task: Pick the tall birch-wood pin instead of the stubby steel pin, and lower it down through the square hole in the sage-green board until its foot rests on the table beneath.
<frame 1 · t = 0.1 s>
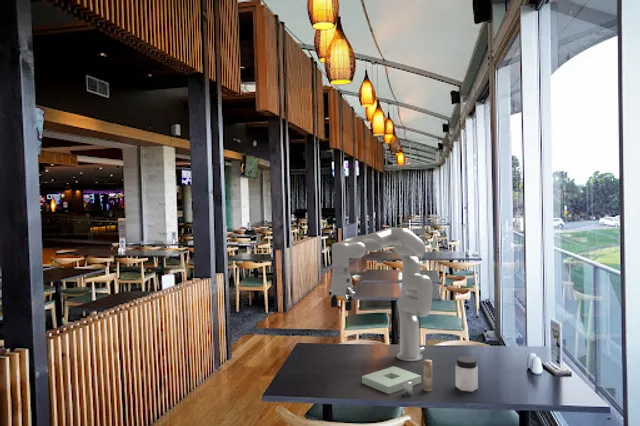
hand: (341, 308, 214), 31 cm above the table, tool pointing down, fingers open, 9 cm apart
birch pin: (428, 389, 201), on the table
steel pin: (408, 394, 196), on the table
hole board: (391, 382, 209), on the table
jar: (466, 388, 202), on the table
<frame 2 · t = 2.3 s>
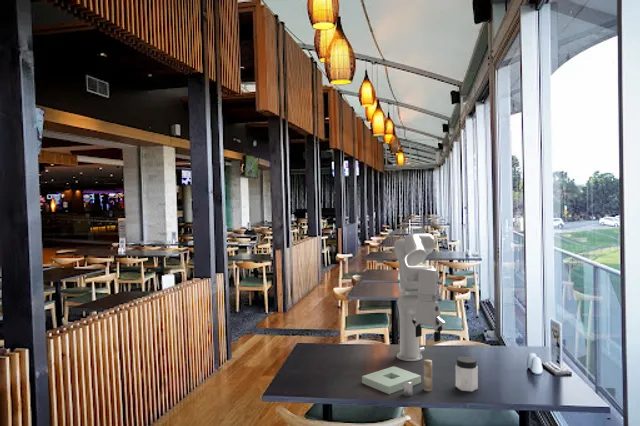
hand: (427, 338, 200), 21 cm above the table, tool pointing down, fingers open, 9 cm apart
nothing on the table moved.
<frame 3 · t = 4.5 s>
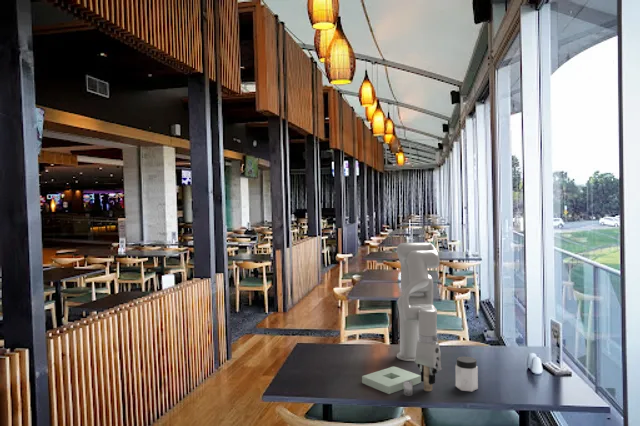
hand: (428, 381, 201), 3 cm above the table, tool pointing down, fingers closed on birch pin, 3 cm apart
birch pin: (428, 389, 201), on the table, touching gripper
everything else where it was.
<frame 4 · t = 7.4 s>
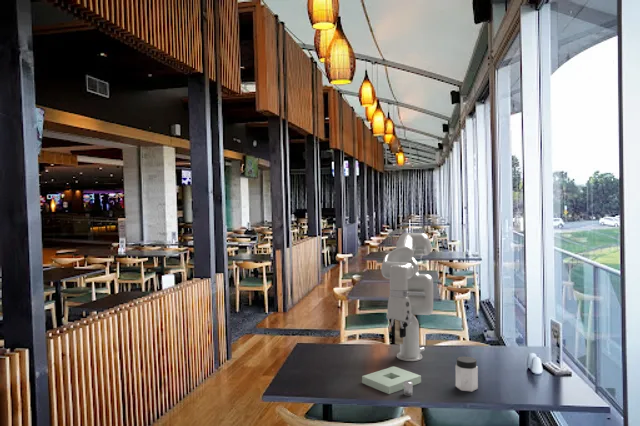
hand: (399, 335, 207), 21 cm above the table, tool pointing down, fingers closed on birch pin, 3 cm apart
birch pin: (399, 343, 207), point 18 cm above the table, touching gripper
everything else where it was.
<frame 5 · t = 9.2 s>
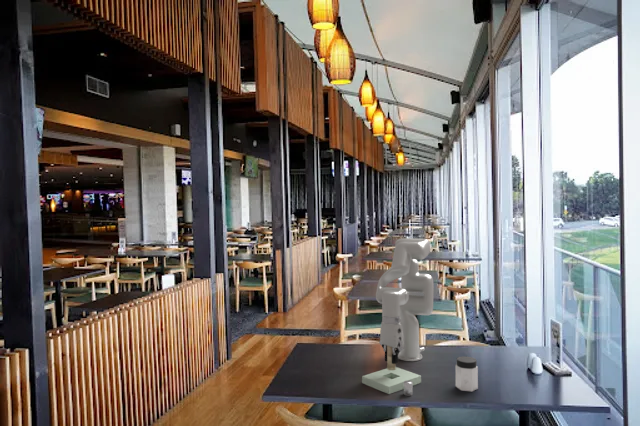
hand: (391, 361, 209), 9 cm above the table, tool pointing down, fingers closed on birch pin, 3 cm apart
birch pin: (391, 368, 209), point 6 cm above the table, touching gripper
everything else where it was.
when the fingers open (5 cm above the table, at t = 10.5 s): birch pin drops 1 cm, resting in hole board.
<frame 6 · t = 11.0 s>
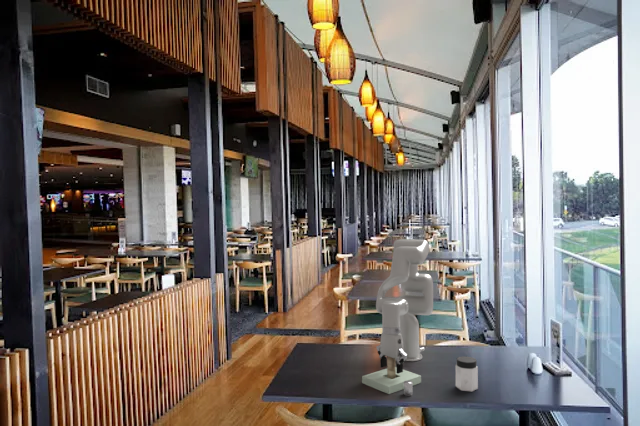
hand: (391, 369, 209), 6 cm above the table, tool pointing down, fingers open, 9 cm apart
birch pin: (391, 382, 209), resting in hole board
everything else where it was.
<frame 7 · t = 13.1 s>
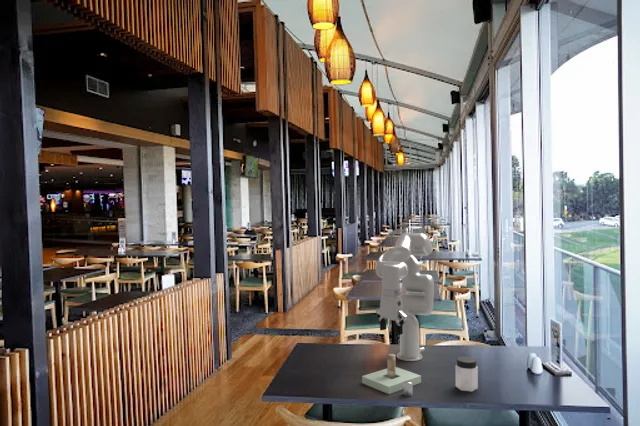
hand: (391, 332, 209), 22 cm above the table, tool pointing down, fingers open, 9 cm apart
nothing on the table moved.
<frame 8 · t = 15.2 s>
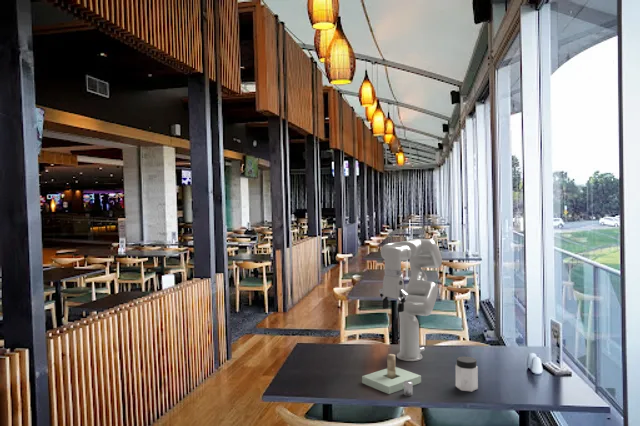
hand: (393, 309, 224), 28 cm above the table, tool pointing down, fingers open, 9 cm apart
nothing on the table moved.
at the end: birch pin 0.0 cm off-centre on the hole board, point 0.0 cm above the hole board's base; birch pin tilted 0°; steel pin moved 0.0 cm from its start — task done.
